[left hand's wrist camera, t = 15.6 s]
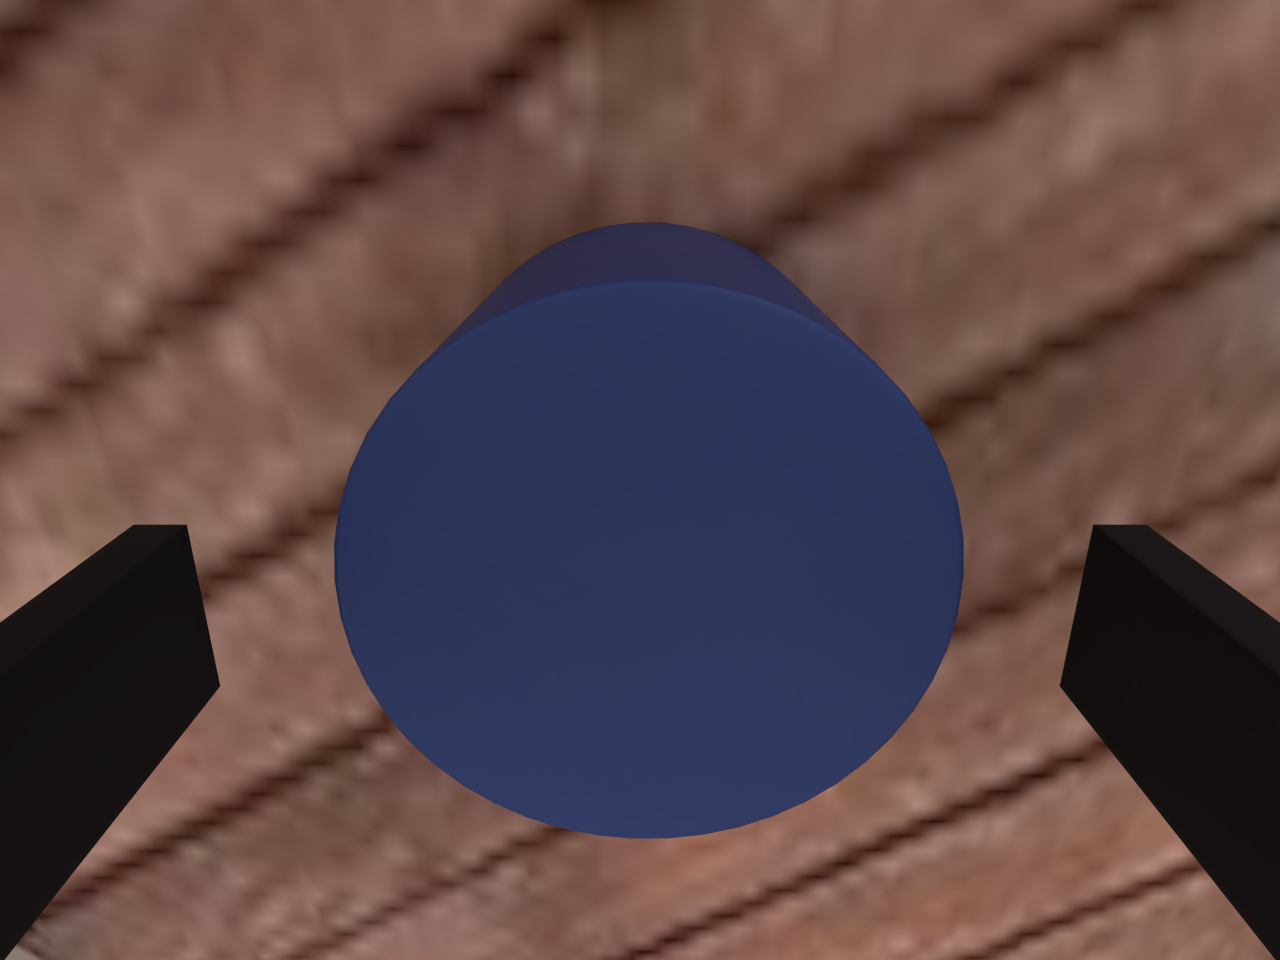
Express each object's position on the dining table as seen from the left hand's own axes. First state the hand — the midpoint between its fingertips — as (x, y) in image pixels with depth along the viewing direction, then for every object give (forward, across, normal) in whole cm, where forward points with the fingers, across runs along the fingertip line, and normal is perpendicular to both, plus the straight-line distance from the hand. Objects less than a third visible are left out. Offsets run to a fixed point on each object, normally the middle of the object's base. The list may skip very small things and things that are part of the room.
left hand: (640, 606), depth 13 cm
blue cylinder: (+8, 0, 0) cm, 8 cm away
